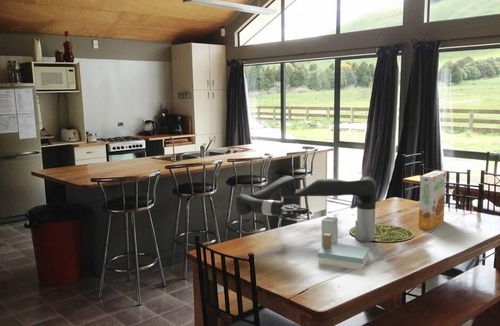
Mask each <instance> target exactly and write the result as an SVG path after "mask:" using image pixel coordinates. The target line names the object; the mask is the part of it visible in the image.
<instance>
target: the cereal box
mask: <svg viewBox="0 0 500 326" xmlns="http://www.w3.org/2000/svg"><path fill="white" fill-rule="evenodd" d="M446 180H447V171H444V170H443V171H442V170H433V171H431V172H427V173H425V174H423V175H421V176H420V184H419V186H420V187H419V204H418V205H419V206H418V207H419V209H418V210H419V211H418V228H419V229H422V230H423V229H424V230H428V231H429V230H431V229H434V228H435V227H436V226H437V225H440V224H441V223H443V222H444V220H445V200H446V198H445V197H446V182H447V181H446Z"/></svg>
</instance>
